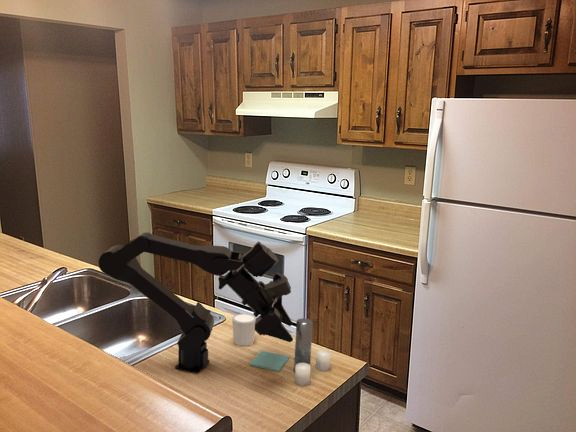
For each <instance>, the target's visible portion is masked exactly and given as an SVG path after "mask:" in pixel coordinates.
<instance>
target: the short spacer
mask: <svg viewBox="0 0 576 432" xmlns="http://www.w3.org/2000/svg"><path fill="white" fill-rule="evenodd" d="M294 375H295V376H294V377H295V378H294V383H295V384H297V385H298V386H303V387H305V386H306V387H307V386H308V385H310V383H311V364H310V365H309V364H307V363H298V364H296V366H295V371H294Z"/></svg>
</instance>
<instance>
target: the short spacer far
mask: <svg viewBox="0 0 576 432" xmlns="http://www.w3.org/2000/svg"><path fill="white" fill-rule="evenodd" d="M331 355H332V353H331V351H329V350H326V349H319V350H317V351H316V358H315V369H316V370H317V371H320V372H328V371H330V368H331Z"/></svg>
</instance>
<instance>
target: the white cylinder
mask: <svg viewBox="0 0 576 432" xmlns="http://www.w3.org/2000/svg"><path fill="white" fill-rule="evenodd" d="M256 318H257V317H255V316H254V315H253V314H251V313H238V314H234V315H233V316H232V317H231V321H232V322H231V323H232V333H233V334H232V336H233V338H232V339H233V343H234V344H235V345H236V346H244V347H246V346H250V345H253V343H254V341H255V334H256V331H255V321H256Z"/></svg>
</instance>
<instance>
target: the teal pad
mask: <svg viewBox="0 0 576 432" xmlns="http://www.w3.org/2000/svg"><path fill="white" fill-rule="evenodd" d="M289 359H290V356H289V355H286V354H280V353H277V352H276V353H275V352H270V351H266V350H260V351H259V353H258V354H257V355H255V357H254V359H252V360H251V362H250V363H249V366H251V367H256V368H260V369H266V370H269V371H273V372H281V370H282V368H283V367H284V366H285V365H286V363H287V361H289Z"/></svg>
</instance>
